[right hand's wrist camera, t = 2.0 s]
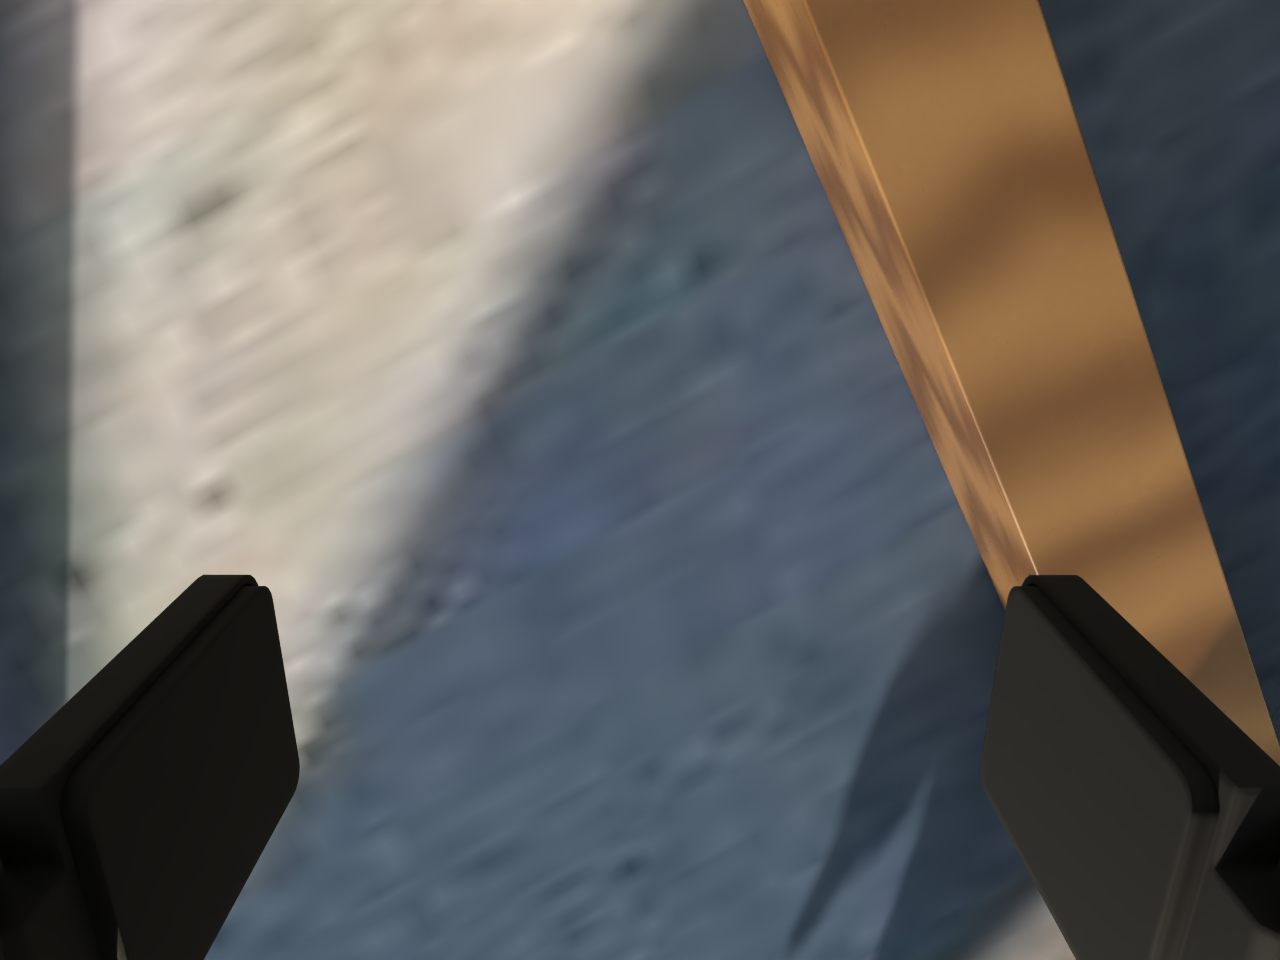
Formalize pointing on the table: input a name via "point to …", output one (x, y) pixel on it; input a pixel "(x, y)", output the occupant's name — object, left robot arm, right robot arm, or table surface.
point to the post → (1012, 308)
